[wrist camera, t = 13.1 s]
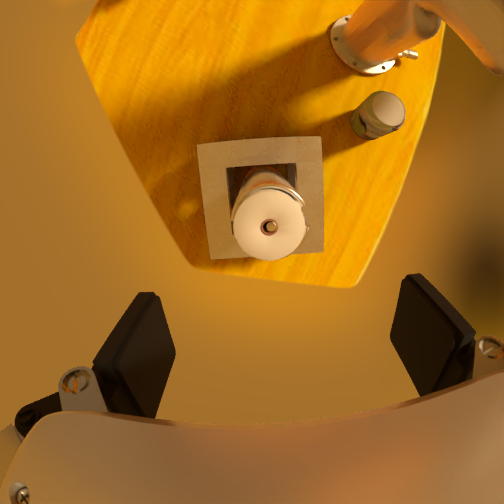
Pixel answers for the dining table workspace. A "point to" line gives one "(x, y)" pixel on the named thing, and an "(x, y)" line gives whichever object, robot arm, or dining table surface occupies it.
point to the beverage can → (378, 115)
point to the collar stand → (259, 153)
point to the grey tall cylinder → (268, 215)
